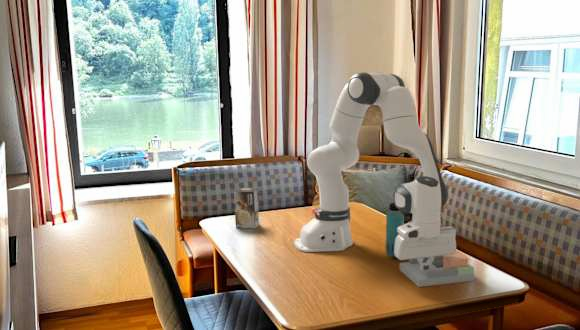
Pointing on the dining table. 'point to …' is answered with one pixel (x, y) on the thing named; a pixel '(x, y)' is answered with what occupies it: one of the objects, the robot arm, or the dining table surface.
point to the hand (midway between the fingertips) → (424, 269)
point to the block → (454, 261)
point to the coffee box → (246, 207)
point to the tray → (435, 272)
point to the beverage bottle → (392, 228)
